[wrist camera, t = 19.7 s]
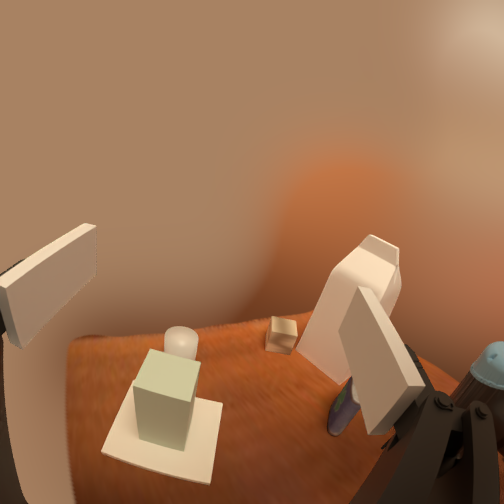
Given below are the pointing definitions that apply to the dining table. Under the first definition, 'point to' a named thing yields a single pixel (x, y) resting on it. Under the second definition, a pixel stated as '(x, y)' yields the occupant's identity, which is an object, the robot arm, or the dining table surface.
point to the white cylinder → (181, 342)
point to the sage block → (165, 398)
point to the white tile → (162, 458)
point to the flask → (343, 409)
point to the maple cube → (281, 335)
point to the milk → (339, 298)
